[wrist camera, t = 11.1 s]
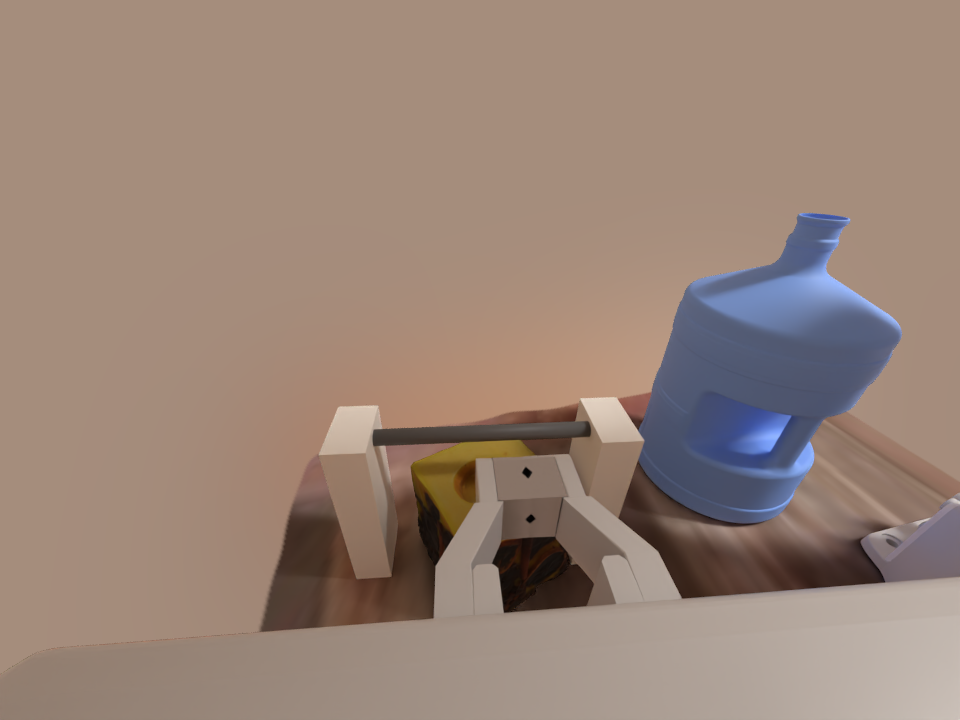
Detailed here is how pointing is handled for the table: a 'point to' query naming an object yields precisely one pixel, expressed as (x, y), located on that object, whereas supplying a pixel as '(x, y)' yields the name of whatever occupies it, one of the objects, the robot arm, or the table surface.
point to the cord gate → (363, 461)
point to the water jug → (760, 378)
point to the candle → (451, 496)
